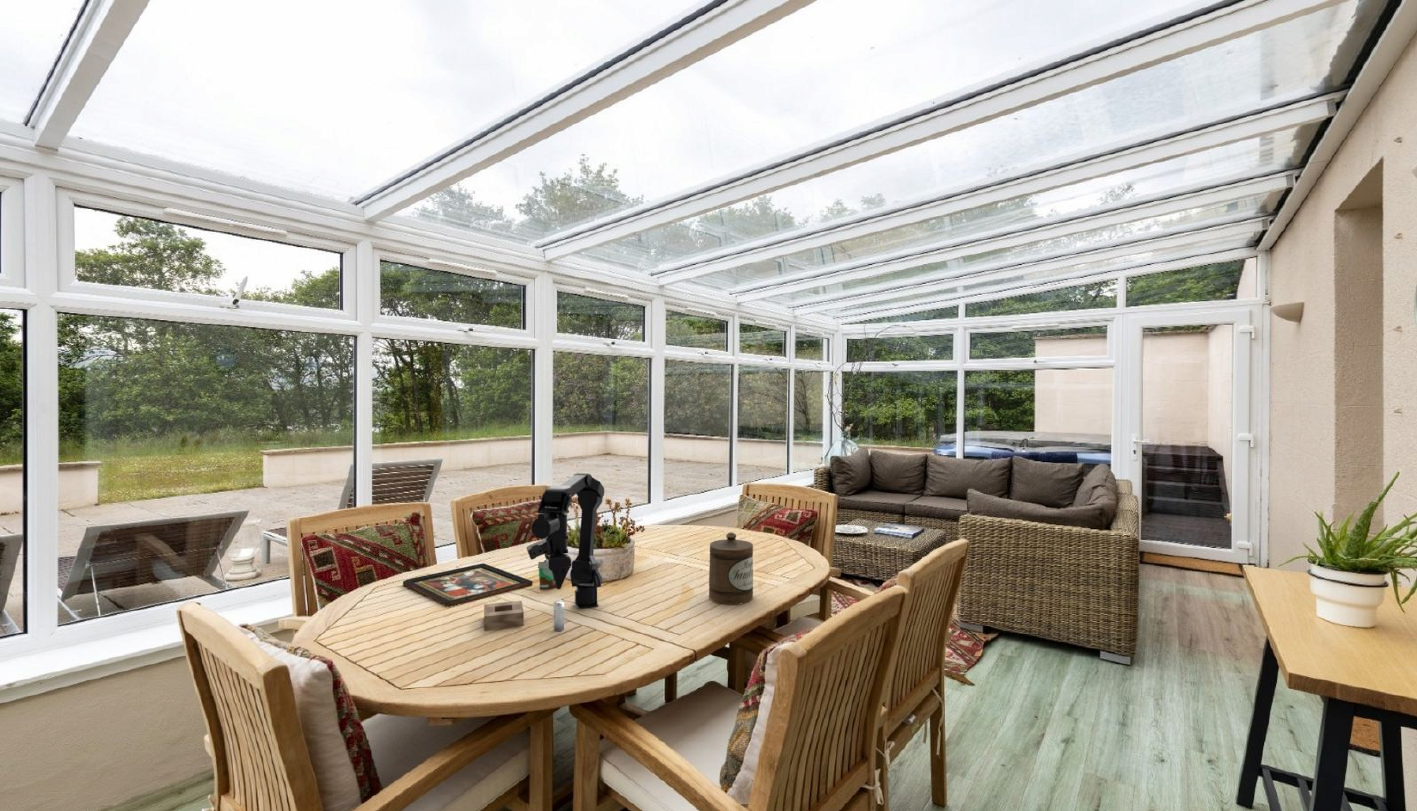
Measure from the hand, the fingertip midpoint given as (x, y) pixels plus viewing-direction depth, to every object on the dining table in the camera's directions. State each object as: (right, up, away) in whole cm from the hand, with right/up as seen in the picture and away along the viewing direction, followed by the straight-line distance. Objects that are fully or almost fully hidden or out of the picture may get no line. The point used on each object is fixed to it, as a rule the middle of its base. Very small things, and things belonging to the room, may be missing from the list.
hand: (557, 584), depth 182 cm
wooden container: (+52, -13, +29) cm, 61 cm away
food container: (-11, -13, +41) cm, 45 cm away
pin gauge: (+1, -13, 0) cm, 13 cm away
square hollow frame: (-18, -13, +6) cm, 23 cm away
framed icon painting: (-42, -13, +42) cm, 61 cm away
